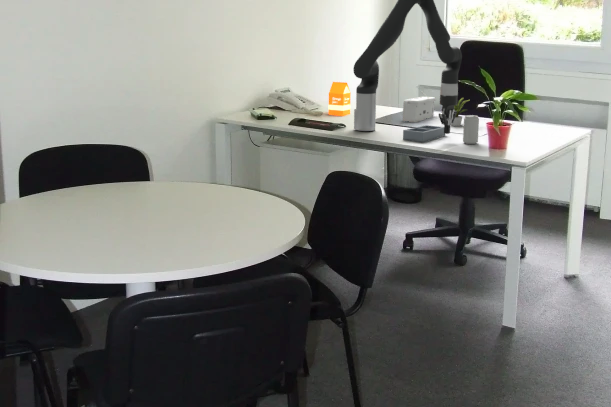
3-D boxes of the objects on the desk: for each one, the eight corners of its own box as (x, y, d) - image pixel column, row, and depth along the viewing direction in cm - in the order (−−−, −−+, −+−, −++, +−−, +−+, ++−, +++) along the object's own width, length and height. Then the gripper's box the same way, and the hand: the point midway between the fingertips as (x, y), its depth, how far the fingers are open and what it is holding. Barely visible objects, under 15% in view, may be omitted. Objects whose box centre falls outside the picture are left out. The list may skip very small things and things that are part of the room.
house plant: (470, 127, 393) (472, 94, 389) (473, 131, 380) (475, 97, 376) (441, 126, 395) (442, 93, 391) (443, 131, 381) (444, 96, 377)
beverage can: (477, 144, 343) (479, 117, 340) (462, 144, 345) (464, 116, 342) (477, 142, 349) (479, 115, 346) (462, 141, 351) (464, 114, 348)
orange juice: (342, 122, 410) (343, 83, 405) (328, 120, 414) (328, 82, 409) (350, 120, 416) (351, 82, 411) (335, 119, 421) (336, 81, 416)
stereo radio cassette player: (421, 121, 414) (422, 82, 409) (435, 122, 409) (437, 83, 404) (401, 126, 397) (402, 85, 392) (416, 127, 392) (417, 86, 388)
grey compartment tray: (423, 142, 348) (423, 132, 347) (402, 140, 355) (403, 130, 354) (445, 137, 363) (445, 127, 362) (425, 134, 370) (425, 125, 369)
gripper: (448, 92, 351) (446, 130, 355) (433, 94, 341) (431, 134, 345) (463, 93, 347) (461, 132, 351) (449, 95, 337) (447, 136, 341)
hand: (446, 133), depth 348 cm, fingers closed
